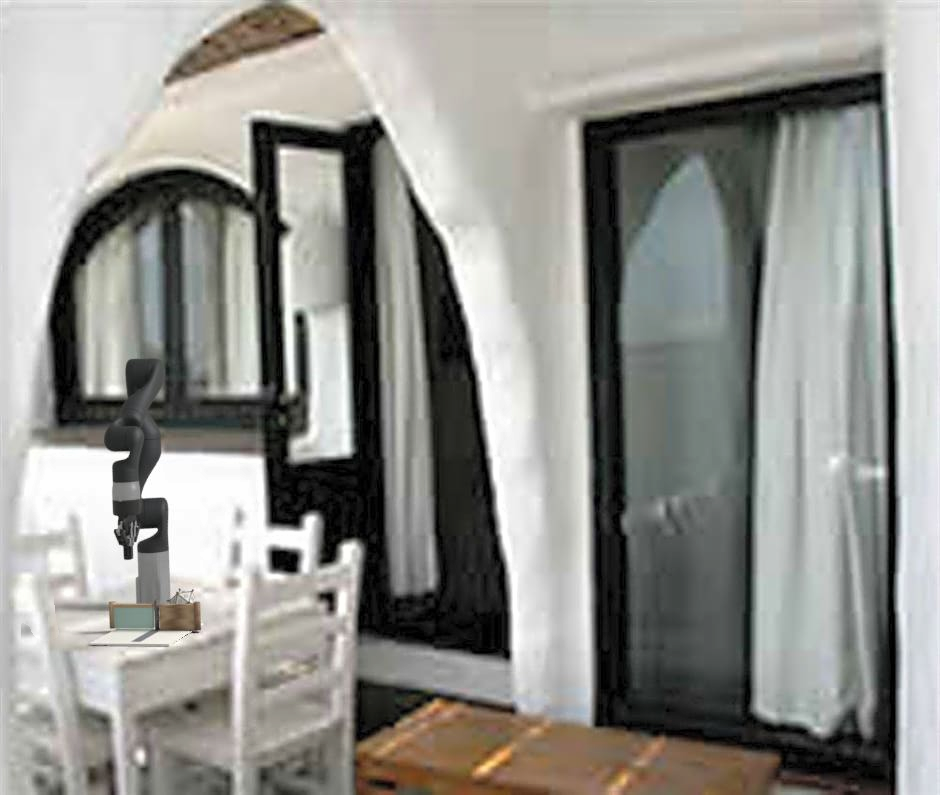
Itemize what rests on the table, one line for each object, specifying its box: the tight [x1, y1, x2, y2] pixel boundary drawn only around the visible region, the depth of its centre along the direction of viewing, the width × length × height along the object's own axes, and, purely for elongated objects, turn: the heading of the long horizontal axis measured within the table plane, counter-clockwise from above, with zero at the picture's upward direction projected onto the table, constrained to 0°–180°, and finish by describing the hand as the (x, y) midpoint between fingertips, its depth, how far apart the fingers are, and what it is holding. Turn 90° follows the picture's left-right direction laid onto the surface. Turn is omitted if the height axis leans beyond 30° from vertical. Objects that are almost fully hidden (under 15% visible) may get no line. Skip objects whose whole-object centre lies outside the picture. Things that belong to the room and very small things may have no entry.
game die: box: [167, 588, 202, 607], centre depth 339 cm, size 9×8×10 cm
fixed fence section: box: [154, 600, 202, 632], centre depth 319 cm, size 13×2×8 cm, turn 82°
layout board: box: [88, 622, 204, 647], centre depth 317 cm, size 24×24×1 cm
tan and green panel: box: [108, 601, 155, 630], centre depth 321 cm, size 13×2×7 cm, turn 82°
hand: (128, 559), depth 326 cm, fingers closed
